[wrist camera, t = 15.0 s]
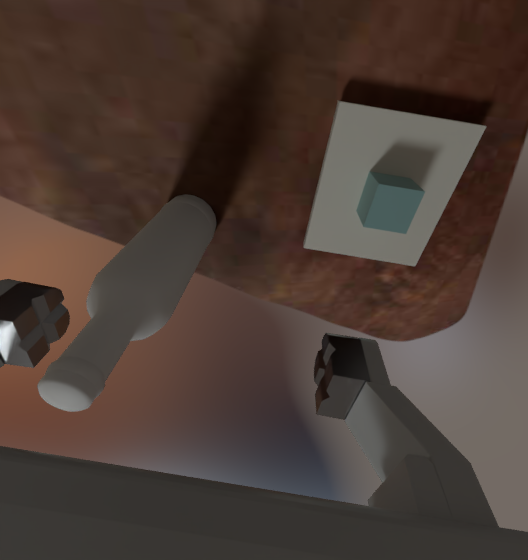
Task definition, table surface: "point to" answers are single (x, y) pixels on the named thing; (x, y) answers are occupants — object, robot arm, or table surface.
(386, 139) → the cream wooden base
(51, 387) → the bottle
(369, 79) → the table surface
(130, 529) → the robot arm
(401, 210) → the teal block
